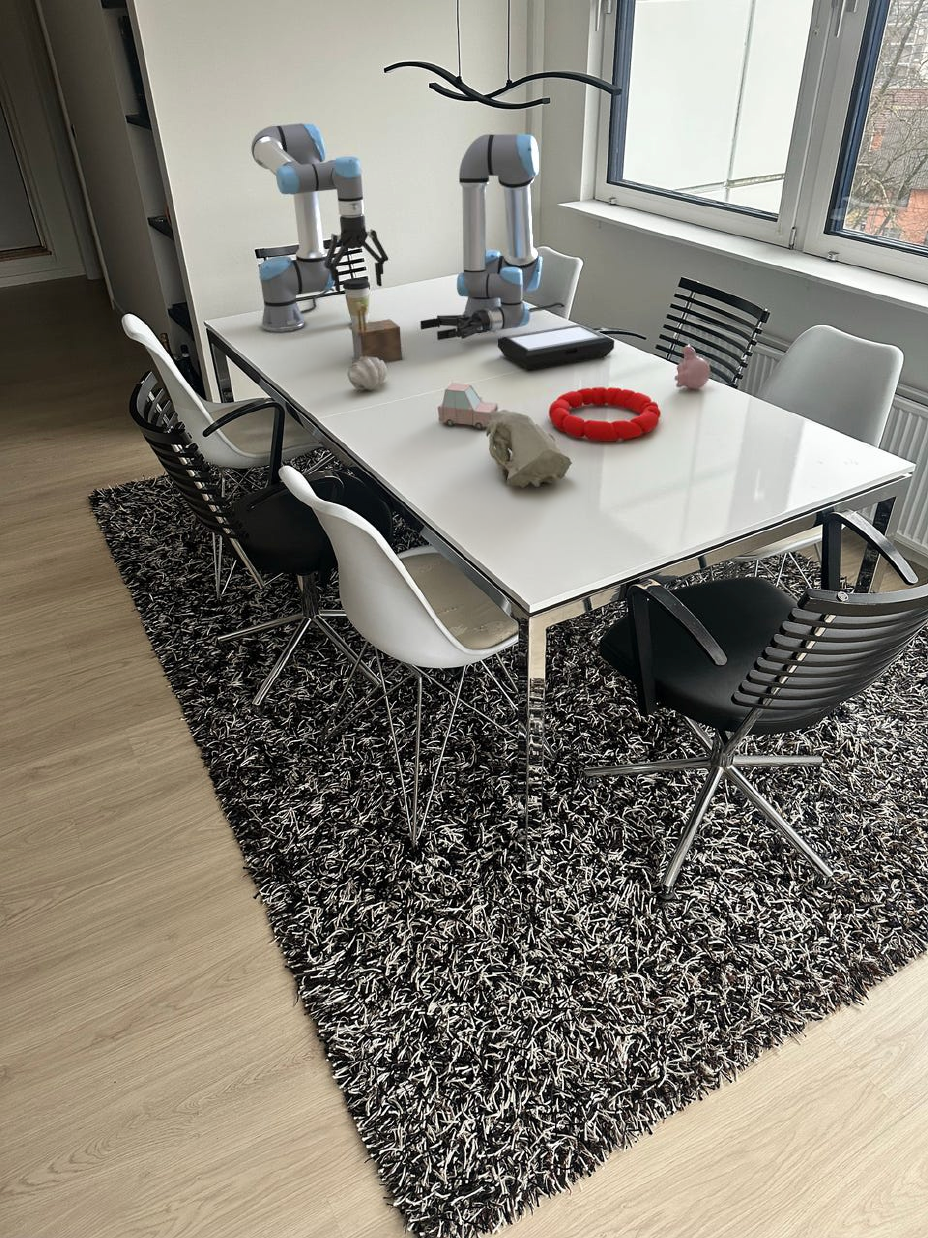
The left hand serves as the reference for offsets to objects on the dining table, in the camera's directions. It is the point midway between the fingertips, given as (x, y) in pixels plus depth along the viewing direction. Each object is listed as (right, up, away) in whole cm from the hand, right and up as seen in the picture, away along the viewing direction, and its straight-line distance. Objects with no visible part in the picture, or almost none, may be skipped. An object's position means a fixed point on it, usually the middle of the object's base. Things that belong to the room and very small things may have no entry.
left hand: (358, 288), depth 279 cm
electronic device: (+63, -18, +11) cm, 66 cm away
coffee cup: (-5, +5, +48) cm, 48 cm away
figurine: (+100, -36, -17) cm, 107 cm away
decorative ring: (+71, -50, -36) cm, 94 cm away
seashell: (+4, -34, -9) cm, 36 cm away
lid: (+4, -10, +9) cm, 14 cm away
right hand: (+22, -8, +15) cm, 28 cm away
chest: (+5, -18, +14) cm, 23 cm away
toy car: (+34, -50, -34) cm, 69 cm away
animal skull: (+47, -67, -59) cm, 101 cm away
